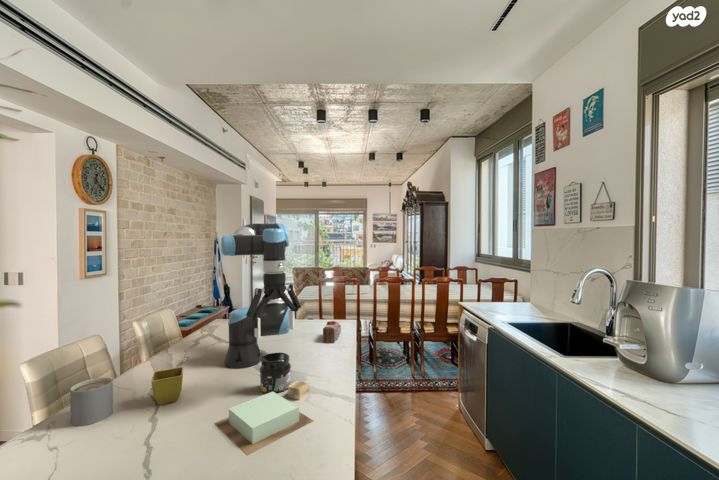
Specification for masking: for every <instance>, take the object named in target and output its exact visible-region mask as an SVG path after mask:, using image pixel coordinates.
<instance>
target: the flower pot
mask: <svg viewBox="0 0 719 480" xmlns="http://www.w3.org/2000/svg"><path fill="white" fill-rule="evenodd" d="M183 376H184V366H179V367H174V368H173V367H172V368H169V369H162V370H158V371H156V370H155V371H154V372H153V375H152V378H151V381H150V382H151V386H152V387H151V388H152V393H153V397H154V400H155V401H156V402H157V404H158V405H164V404H165V405H166V404H169V403H174V402H176V401H177V402H178V400H179V399H180V396H181V394H182V390H183V389H182V388H183Z"/></svg>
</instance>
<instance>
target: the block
mask: <svg viewBox="0 0 719 480" xmlns="http://www.w3.org/2000/svg"><path fill="white" fill-rule="evenodd" d="M309 394H310V383H308V382H305V381H301V380H296V381H294V382H293V383H291V385H289V386H288V390H287V398H290V399H291V398H292V399H294V400H298V401H301V400H302V399H304V398H305V397H307V396H308V395H309Z"/></svg>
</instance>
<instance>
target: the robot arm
mask: <svg viewBox="0 0 719 480" xmlns="http://www.w3.org/2000/svg"><path fill="white" fill-rule="evenodd" d="M289 240H290V239H289V232H288V229H287V226H286V224H284V223H277V222H276V223H249V224H245V225H242V226H240V227H238V228H237V229H236V230H235V231H234V233H233V235H232V234H229V235H227V234H226V235H223V236H222V237H221V241H220V247H221V254H222V255H223V256H229V257H230V256H231V257H235V256H236V257H237V256H263V258H262V259H263V261H262V263H263V264H262V265H263V266H262V271H263V274H262V275H263V277H262V278H263V287H262V288H259V287H256V288H255V289H254V296H253V297H252V300H251V302H250V304H249V306H245V307H239V308H237V309H234V310H232V311H231V312H230V313H229V315H228V321H227V325H228V348H227V350H226V351H227V352H226V354H225V358H224V365H225V367H227V368H230V369H243V368H249V367H252V366H255V365H257V364H259V363H261V359H262V352H261V350H260V346H259V344H258V339H261V337H269V336H281V335H286V334H288V333H289V332H290V330H294V331H295V327H296V326H295V325H296V324H295V323H296V322H295V320H296V319H297V312H298V311H299V309H301V303H300V300H299V299H298V297H297V295H296V293H295V290H294V285H293V284H291V283H287V284H286V282H287V280H286V279H287V278H286V273H285V271H286V250H287V248H288V247H289V245H290V244H289V243H290V241H289ZM286 291H287V292H286ZM285 292H286V293H287V294H288V295H289V297H288V295H287V294H286V293H285ZM263 294H264V295H263ZM262 295H263V296H262ZM261 298H262V299H261ZM260 300H261V301H260Z"/></svg>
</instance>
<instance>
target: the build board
mask: <svg viewBox="0 0 719 480" xmlns="http://www.w3.org/2000/svg"><path fill="white" fill-rule="evenodd" d="M313 422H314V420H313V419H311V418H310V417H308V416H307V415H305V414H304V413H302V412H300V411H299V421H298V422H296V423H294V424H292V425H290V426H288V427H286V428H284V429H282V430H280V431H278V432H276V433H274V434H272V435H270V436H268V437H266V438H264V439H262V440H260V441H258V442H256V443H254V444H252V443H251V442H250V441H249V440H248V439H247V438H245V437H244V436H243V435H242V434H241V433H240V432H239V431H238V430H236V429H235V428H234V427H233V426H232V425H231V424H230V423H229V416H228V417H225V418H223V419H220V420H217V421H215V422H214V424H213V425H215V426H216V427H217V428H218V429H219V430H220V431H221V432H222V433H223V434H224V435H225V436H226V437H227V438H229V440H231V441H232V443H234V444H235V446H237V447H238V449H239V450H241V451H242V452H243V453H244V454H245V455H246V456H249V455H251V454H253V453H255V452H257V451H258V450H261V449H263V448H264V447H267V446H269V445H271V444H272V443H274V442H276V441H279V440H280V439H282V438H284V437H287V435H290V434H292V433H294V432H296V431H298V430H299V429H302V428H303V427H305V426H307V425H309V424H311V423H313Z"/></svg>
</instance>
